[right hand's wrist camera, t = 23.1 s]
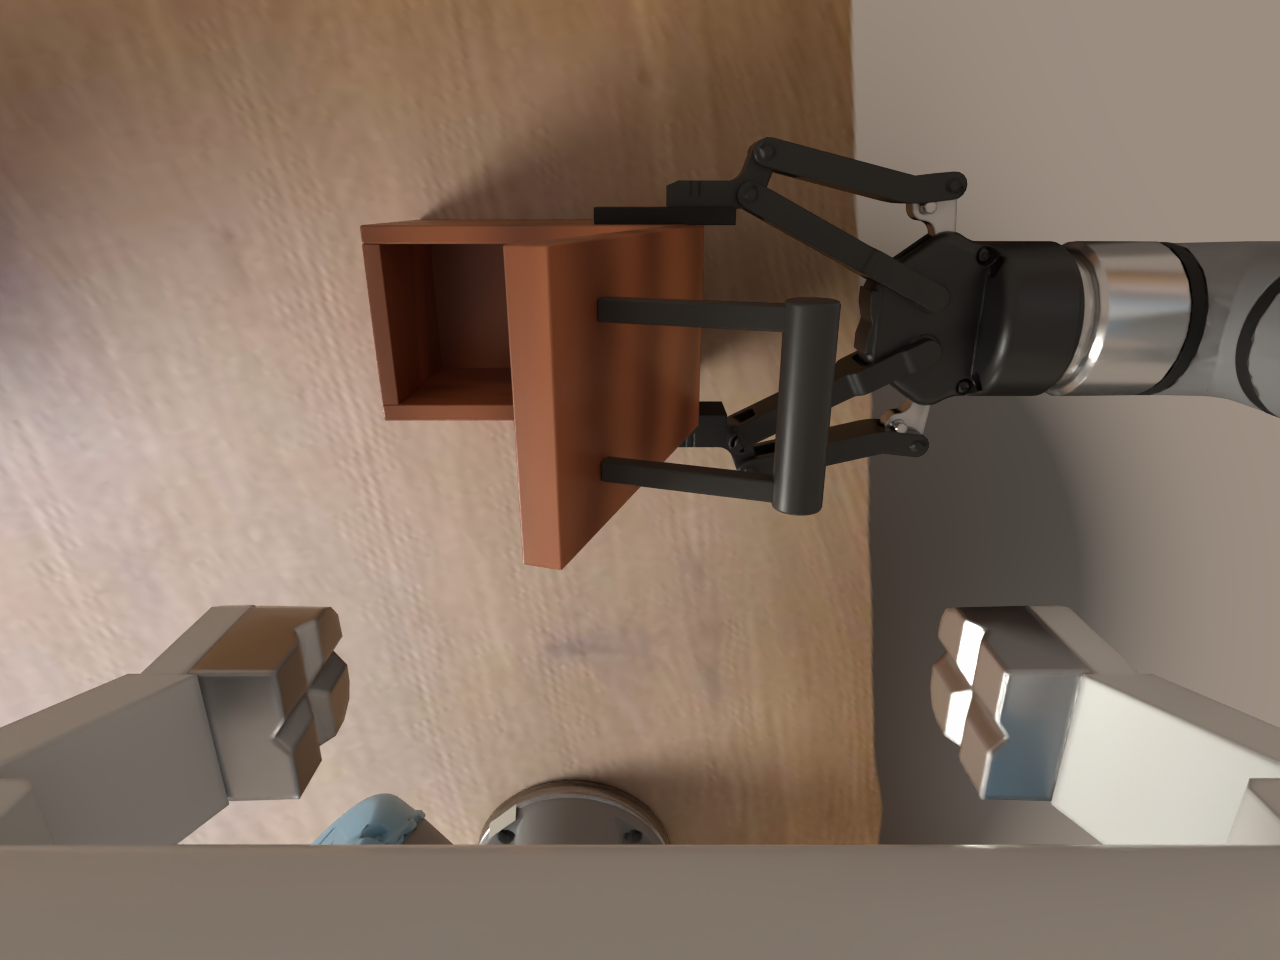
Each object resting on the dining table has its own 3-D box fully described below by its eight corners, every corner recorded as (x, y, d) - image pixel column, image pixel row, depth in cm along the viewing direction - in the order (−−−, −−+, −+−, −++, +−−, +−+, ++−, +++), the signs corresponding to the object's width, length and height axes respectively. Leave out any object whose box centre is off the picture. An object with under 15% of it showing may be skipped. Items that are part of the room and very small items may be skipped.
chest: (433, 377, 45) (384, 420, 37) (417, 219, 42) (359, 225, 33) (676, 377, 45) (685, 420, 37) (678, 219, 42) (689, 224, 33)
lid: (522, 564, 22) (802, 610, 20) (501, 244, 19) (834, 250, 16) (673, 423, 36) (848, 439, 34) (676, 225, 33) (869, 227, 30)
